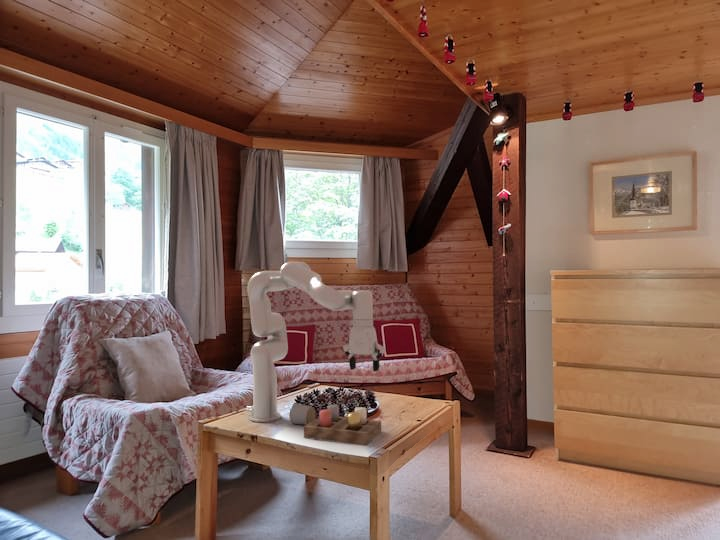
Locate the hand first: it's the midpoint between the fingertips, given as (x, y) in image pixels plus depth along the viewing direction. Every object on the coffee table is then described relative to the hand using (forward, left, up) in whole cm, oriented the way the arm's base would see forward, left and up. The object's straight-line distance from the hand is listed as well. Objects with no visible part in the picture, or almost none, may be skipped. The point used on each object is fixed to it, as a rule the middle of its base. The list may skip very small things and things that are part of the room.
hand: (364, 369), depth 190 cm
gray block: (-12, -1, -19) cm, 23 cm away
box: (-7, -5, -23) cm, 25 cm away
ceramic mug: (-27, +3, -24) cm, 36 cm away
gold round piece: (-1, -8, -19) cm, 21 cm away
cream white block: (-1, -1, -19) cm, 19 cm away
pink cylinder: (-12, -8, -19) cm, 24 cm away
